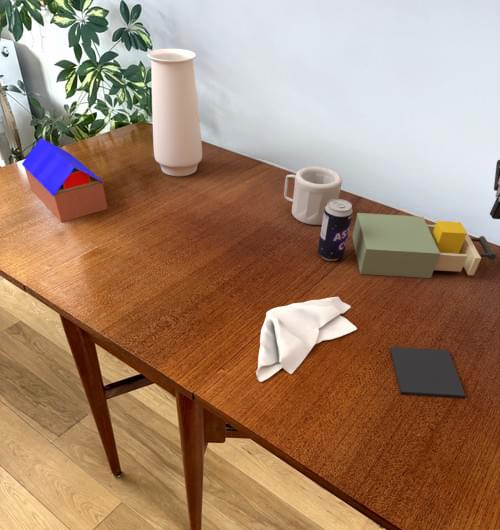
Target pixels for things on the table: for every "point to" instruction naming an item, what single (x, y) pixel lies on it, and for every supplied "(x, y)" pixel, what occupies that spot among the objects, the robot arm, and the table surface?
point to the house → (63, 182)
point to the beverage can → (335, 229)
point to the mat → (426, 372)
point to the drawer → (464, 255)
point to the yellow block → (449, 236)
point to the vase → (175, 111)
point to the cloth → (298, 333)
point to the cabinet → (394, 245)
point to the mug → (313, 193)
